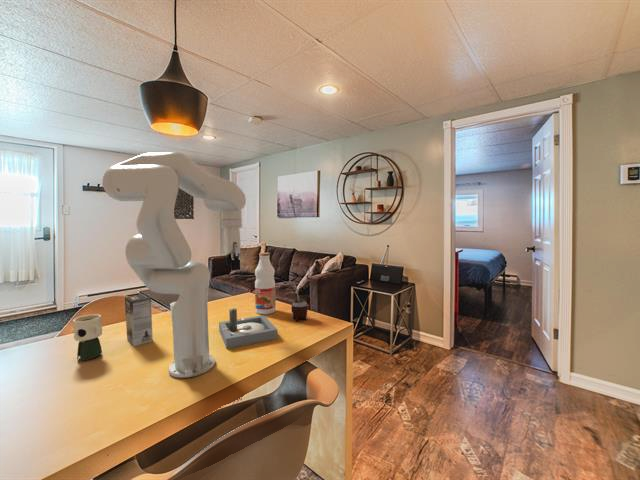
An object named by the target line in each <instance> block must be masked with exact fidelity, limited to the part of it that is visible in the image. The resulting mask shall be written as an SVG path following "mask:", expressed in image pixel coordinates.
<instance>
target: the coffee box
mask: <svg viewBox="0 0 640 480" xmlns="http://www.w3.org/2000/svg"><path fill="white" fill-rule="evenodd" d="M124 306H125V307H124V308H125V309H124V311H125V324H126V325H125V326H126V327H125V328H126V339H127V341H128V342H129V343H130V344H131V345H132V346H133V347H137V346H141V345H145V344H147V343H152V342H154V340H153V320H152V319H153V318H152V317H153V316H152V313H153V312H152V298H151V297H149V296H148V295H146V294H145V293H140V294H136V295H135V294H134V295H130V296H125V297H124Z"/></svg>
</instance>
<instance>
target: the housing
mask: <svg viewBox="0 0 640 480" xmlns="http://www.w3.org/2000/svg"><path fill="white" fill-rule="evenodd" d="M242 323H260V324H262V325H263V326H264V330H261V331H255V332H249V333H244V334H238V335H233V336H231V334H230V320H223V321H219V322H218V332H219V333H220V336H221V338H222V341H223V343H224V346H225V349H226V350H228V349H234V348H239V347H243V346H244V347H245V346H248V345H255V344H259V343H264V342H269V341H274V340H278V339H279V338H278V337H279V336H278V329H277V328H276V327H275V325H274V324H273V323H272V322H271V321H270V320H269V319H268V317H266V316H265V314H261V315H256V316H250V317H244V318H243V317H242V318H237V325H238V324H242Z"/></svg>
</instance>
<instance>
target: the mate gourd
mask: <svg viewBox="0 0 640 480" xmlns="http://www.w3.org/2000/svg"><path fill="white" fill-rule="evenodd" d="M292 284H293V286H294V288H295V291H296V296H297V300H293V302H292V304H291V307H290V308H291V313H292V316H293V317H292V319H293V320H295V321H296V323H299V321H307V316H308V311H309V310H308V303H307V301H305V300H304V299H300V296H299V292H298V291H299V290H298V288H297V286H296V284H295V283H294V282H293V283H292Z"/></svg>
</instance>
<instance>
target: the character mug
mask: <svg viewBox="0 0 640 480" xmlns="http://www.w3.org/2000/svg"><path fill="white" fill-rule="evenodd" d="M72 328H73V331H74V334H73V339H74V341H76V342H77V341H78V345H77V354H76V357H77V358H76V359H77V360H79V361H88V360H92V359H94V358H96V357H98V356H100V355H101V354H102V353H103V351H102V345H101V341H100V339H99V338H100V336H102V334H103V323H102V315H101V314H98V313H96V314H95V313H94V314H85V315H82V316H78V317H76V318H74V319H73V320H72Z"/></svg>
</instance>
